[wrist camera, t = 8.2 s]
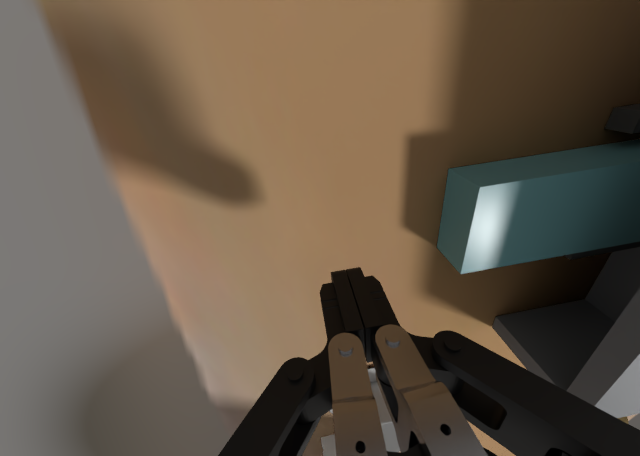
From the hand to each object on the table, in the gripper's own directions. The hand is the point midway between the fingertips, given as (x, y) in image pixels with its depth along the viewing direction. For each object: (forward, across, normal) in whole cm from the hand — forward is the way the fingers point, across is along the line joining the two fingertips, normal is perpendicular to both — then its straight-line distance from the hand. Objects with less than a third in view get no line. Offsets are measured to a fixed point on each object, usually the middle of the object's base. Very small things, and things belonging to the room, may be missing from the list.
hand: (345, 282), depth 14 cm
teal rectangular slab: (+5, -15, 0) cm, 16 cm away
